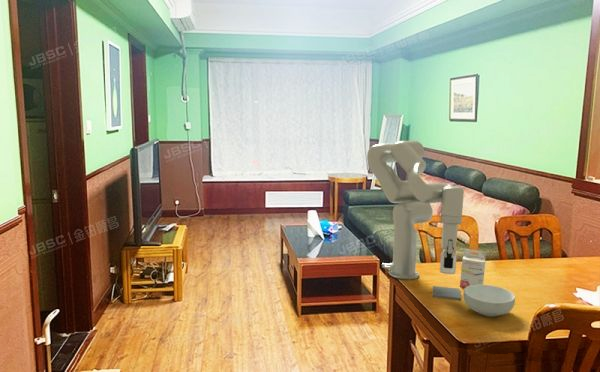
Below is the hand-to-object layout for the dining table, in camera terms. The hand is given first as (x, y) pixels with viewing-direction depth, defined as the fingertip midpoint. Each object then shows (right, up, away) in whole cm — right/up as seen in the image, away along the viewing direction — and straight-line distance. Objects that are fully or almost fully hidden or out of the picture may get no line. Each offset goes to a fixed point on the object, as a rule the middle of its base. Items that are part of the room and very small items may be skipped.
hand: (447, 265), depth 177 cm
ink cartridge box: (+12, -10, +9) cm, 19 cm away
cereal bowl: (+9, -14, -14) cm, 22 cm away
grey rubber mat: (0, -11, +2) cm, 11 cm away
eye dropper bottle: (0, -3, 0) cm, 3 cm away
